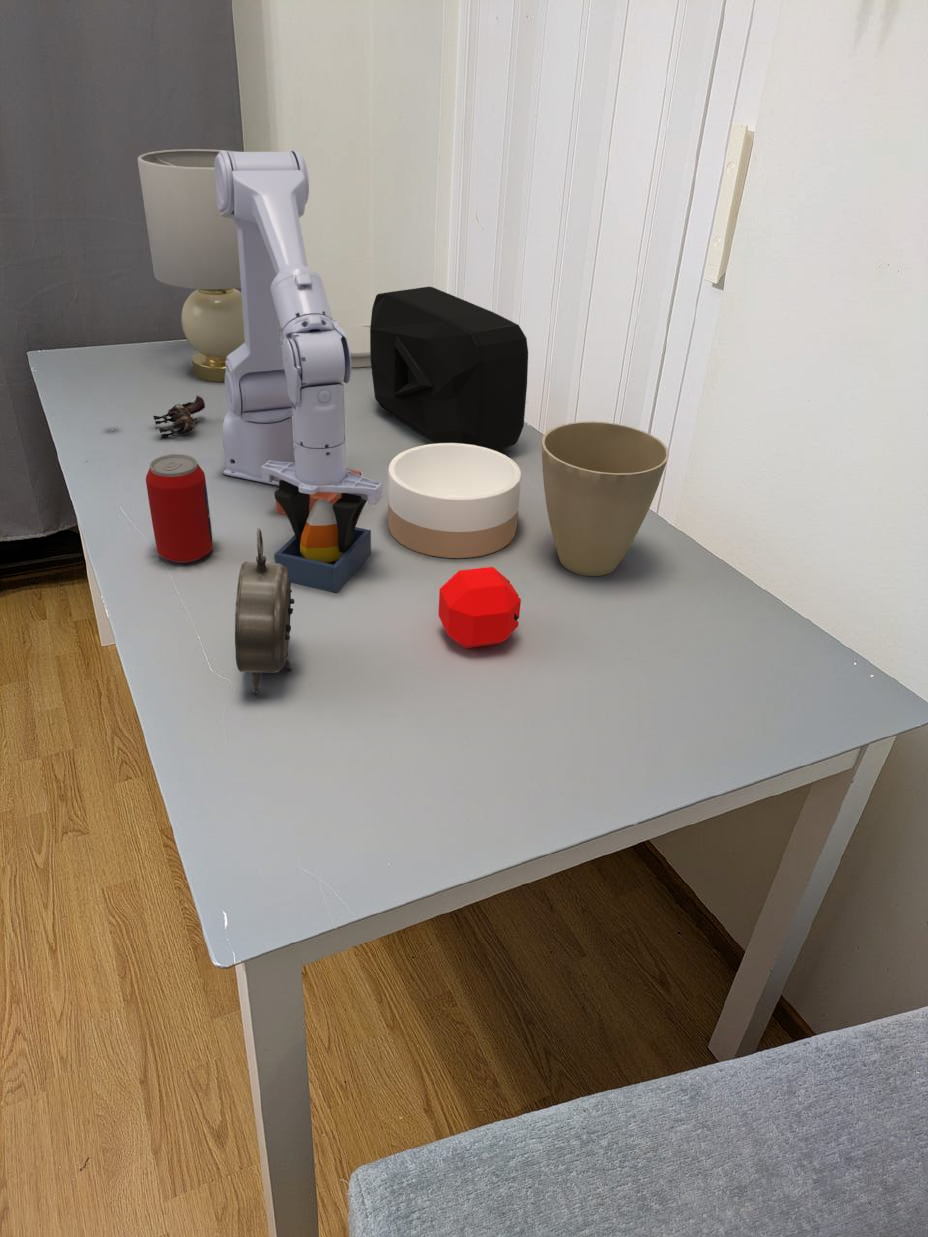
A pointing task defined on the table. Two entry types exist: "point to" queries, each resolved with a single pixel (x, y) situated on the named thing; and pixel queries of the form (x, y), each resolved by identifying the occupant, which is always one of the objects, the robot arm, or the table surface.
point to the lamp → (195, 252)
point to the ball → (479, 607)
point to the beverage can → (179, 508)
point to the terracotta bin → (318, 497)
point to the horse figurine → (181, 417)
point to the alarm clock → (262, 616)
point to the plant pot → (598, 490)
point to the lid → (358, 345)
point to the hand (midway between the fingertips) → (323, 544)
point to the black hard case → (449, 367)
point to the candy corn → (321, 534)
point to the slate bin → (325, 573)
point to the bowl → (453, 499)
